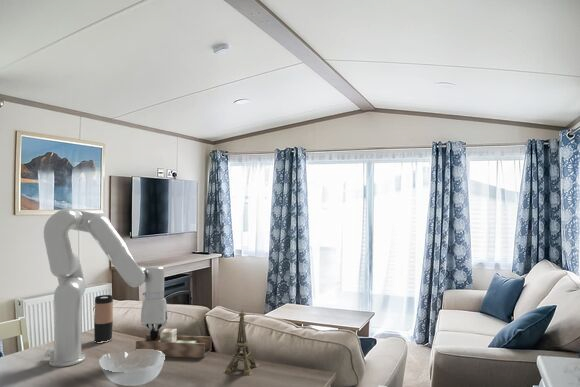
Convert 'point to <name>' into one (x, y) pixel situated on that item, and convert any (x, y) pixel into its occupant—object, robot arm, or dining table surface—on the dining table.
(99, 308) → the travel mug
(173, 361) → the dining table surface
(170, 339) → the block
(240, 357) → the eiffel tower
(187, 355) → the box
